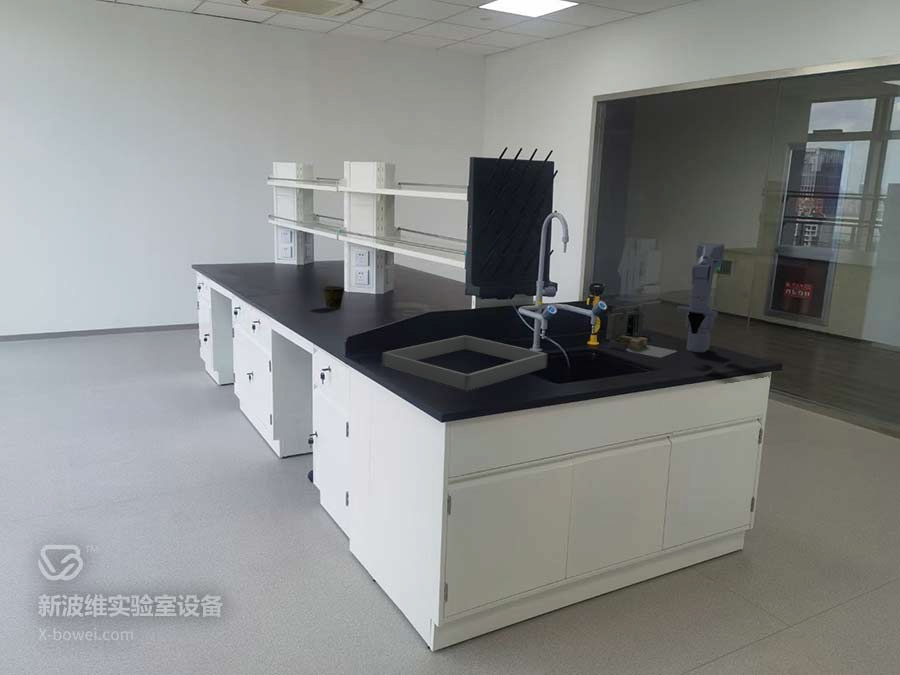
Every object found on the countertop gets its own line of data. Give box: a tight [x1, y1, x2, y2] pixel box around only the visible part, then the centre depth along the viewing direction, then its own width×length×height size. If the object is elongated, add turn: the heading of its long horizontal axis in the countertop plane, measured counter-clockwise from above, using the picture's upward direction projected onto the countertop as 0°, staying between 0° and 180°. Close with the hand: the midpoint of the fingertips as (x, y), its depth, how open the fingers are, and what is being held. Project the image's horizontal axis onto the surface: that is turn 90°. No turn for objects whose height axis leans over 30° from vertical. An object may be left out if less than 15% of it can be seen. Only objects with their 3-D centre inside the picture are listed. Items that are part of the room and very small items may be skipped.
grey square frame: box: [381, 334, 548, 392], centre depth 240 cm, size 43×37×5 cm
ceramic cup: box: [322, 285, 345, 310], centre depth 336 cm, size 13×10×10 cm
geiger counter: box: [605, 303, 648, 341], centre depth 299 cm, size 14×6×25 cm
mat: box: [609, 344, 678, 358], centre depth 274 cm, size 16×22×1 cm
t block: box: [619, 336, 648, 350], centre depth 277 cm, size 9×9×4 cm
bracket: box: [607, 336, 638, 351], centre depth 279 cm, size 15×7×2 cm, turn 139°
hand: (694, 333), depth 261 cm, fingers closed
